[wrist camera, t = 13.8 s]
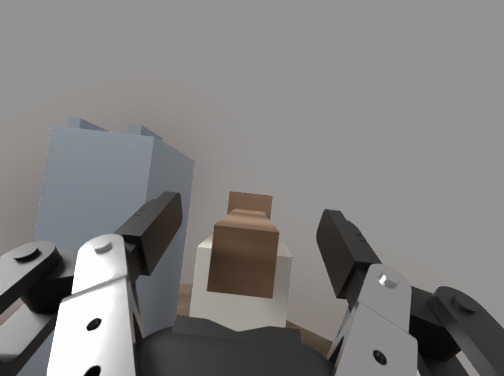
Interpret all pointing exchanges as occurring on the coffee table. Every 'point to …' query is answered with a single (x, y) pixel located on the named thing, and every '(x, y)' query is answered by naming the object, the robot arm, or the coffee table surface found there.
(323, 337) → the coffee table surface
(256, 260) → the peg
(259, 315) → the tall white block
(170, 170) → the tower
